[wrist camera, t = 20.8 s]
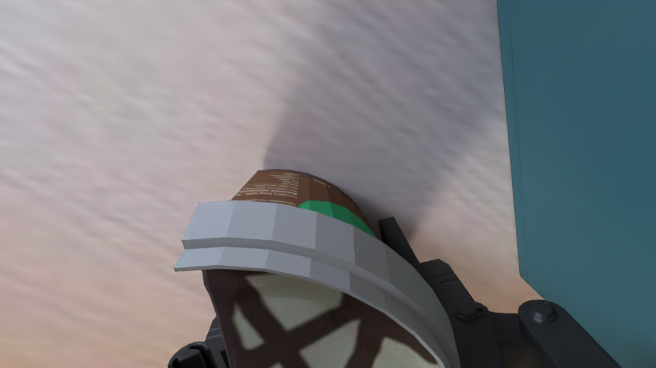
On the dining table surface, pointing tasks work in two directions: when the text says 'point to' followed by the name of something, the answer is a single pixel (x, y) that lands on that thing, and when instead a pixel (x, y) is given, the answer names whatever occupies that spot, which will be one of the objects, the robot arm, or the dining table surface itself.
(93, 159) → the dining table surface
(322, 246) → the food container
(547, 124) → the chest
